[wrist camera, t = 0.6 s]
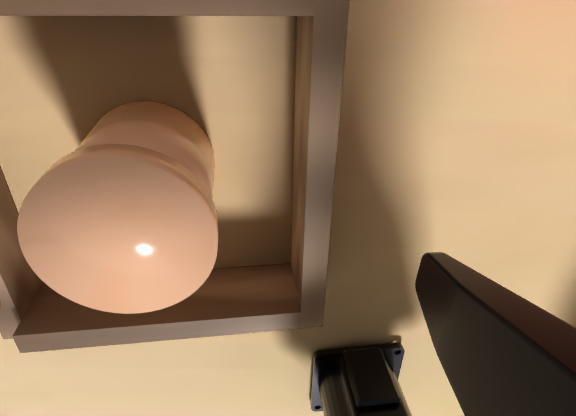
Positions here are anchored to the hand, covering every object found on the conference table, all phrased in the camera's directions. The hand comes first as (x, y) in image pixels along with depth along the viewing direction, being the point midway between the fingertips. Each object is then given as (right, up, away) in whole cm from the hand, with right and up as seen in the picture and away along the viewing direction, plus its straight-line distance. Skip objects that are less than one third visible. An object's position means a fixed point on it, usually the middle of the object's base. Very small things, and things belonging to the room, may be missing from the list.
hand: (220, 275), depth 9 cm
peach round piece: (-5, +4, +12) cm, 13 cm away
